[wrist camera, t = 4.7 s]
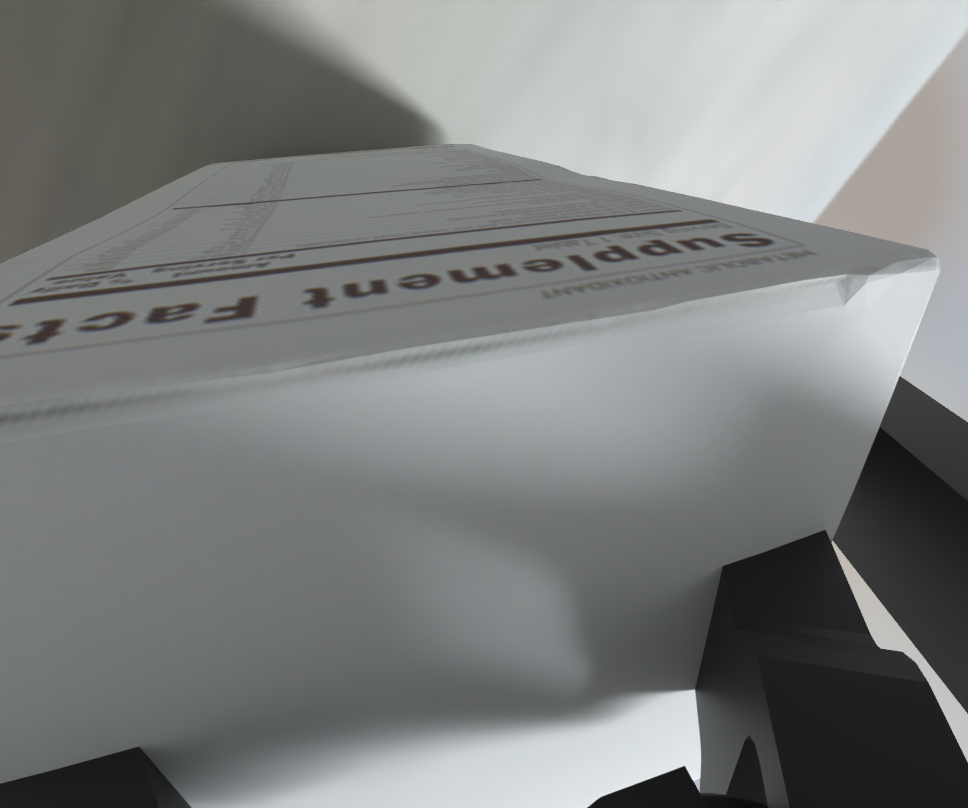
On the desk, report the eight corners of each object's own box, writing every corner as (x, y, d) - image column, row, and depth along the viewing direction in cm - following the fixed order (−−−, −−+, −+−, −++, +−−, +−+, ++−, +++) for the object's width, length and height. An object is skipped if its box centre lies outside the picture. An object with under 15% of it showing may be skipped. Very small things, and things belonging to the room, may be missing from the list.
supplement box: (271, 405, 21) (159, 1000, 7) (195, 160, 16) (-603, 480, 2) (493, 368, 23) (755, 780, 9) (483, 138, 18) (1004, 243, 4)
